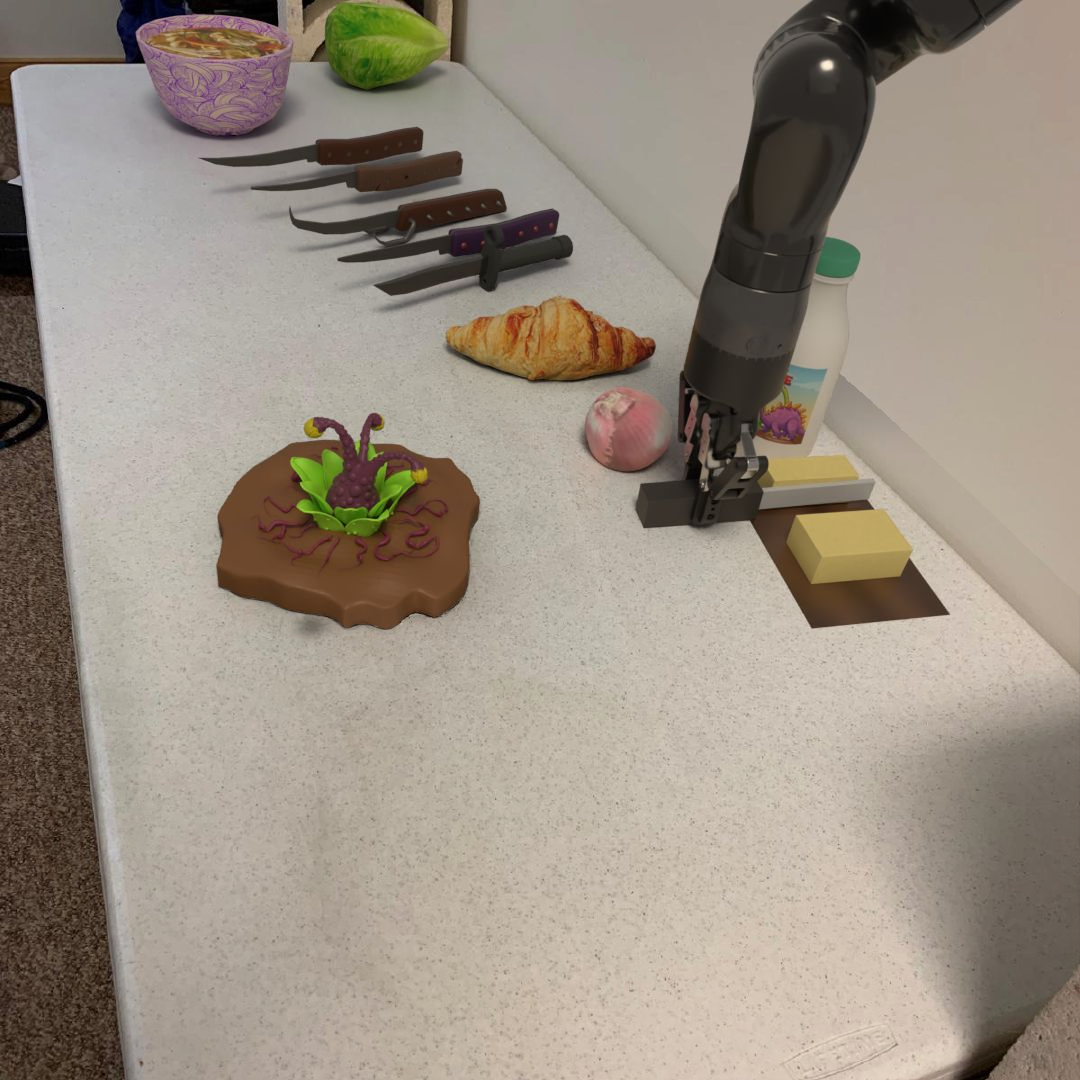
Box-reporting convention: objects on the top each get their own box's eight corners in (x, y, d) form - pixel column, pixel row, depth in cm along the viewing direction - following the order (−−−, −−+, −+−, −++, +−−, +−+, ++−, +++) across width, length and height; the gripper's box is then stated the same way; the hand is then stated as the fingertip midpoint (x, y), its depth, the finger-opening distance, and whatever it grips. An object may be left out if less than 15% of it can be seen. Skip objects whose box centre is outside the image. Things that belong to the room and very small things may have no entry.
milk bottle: (765, 412, 98) (825, 219, 85) (826, 452, 94) (899, 256, 81) (713, 436, 94) (767, 237, 81) (775, 479, 90) (843, 277, 77)
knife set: (196, 195, 118) (192, 129, 113) (419, 162, 138) (424, 104, 133) (362, 331, 101) (366, 260, 96) (591, 271, 120) (604, 209, 115)
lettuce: (463, 96, 159) (467, 14, 151) (341, 102, 151) (339, 16, 143) (430, 68, 168) (432, -11, 160) (313, 72, 159) (310, -10, 151)
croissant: (443, 396, 100) (443, 355, 93) (446, 311, 104) (447, 265, 96) (649, 406, 102) (666, 366, 95) (646, 322, 106) (662, 277, 98)
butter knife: (860, 490, 88) (871, 464, 86) (873, 508, 86) (884, 481, 84) (635, 511, 83) (640, 483, 81) (643, 530, 82) (648, 501, 80)
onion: (567, 439, 91) (577, 372, 87) (642, 428, 94) (656, 363, 89) (601, 492, 86) (614, 424, 81) (680, 479, 89) (697, 413, 84)
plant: (261, 446, 86) (250, 331, 78) (486, 474, 86) (497, 363, 79) (184, 611, 71) (162, 488, 63) (458, 644, 71) (468, 525, 64)
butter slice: (834, 481, 89) (844, 454, 87) (848, 502, 87) (859, 475, 85) (752, 486, 87) (761, 459, 85) (765, 508, 85) (774, 480, 83)
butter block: (871, 535, 84) (883, 508, 82) (900, 576, 80) (913, 549, 78) (785, 542, 82) (795, 514, 80) (810, 584, 78) (822, 556, 76)
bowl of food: (156, 97, 144) (143, 9, 136) (297, 104, 148) (293, 19, 140) (140, 149, 130) (126, 55, 122) (298, 155, 134) (293, 64, 126)
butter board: (845, 481, 91) (848, 472, 90) (945, 623, 78) (950, 614, 78) (724, 488, 88) (726, 479, 88) (808, 637, 75) (811, 628, 75)
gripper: (835, 377, 68) (769, 563, 79) (757, 280, 78) (709, 458, 89) (733, 381, 66) (681, 570, 77) (667, 281, 76) (630, 462, 87)
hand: (696, 509), depth 83 cm, fingers closed on butter knife, 2 cm apart
